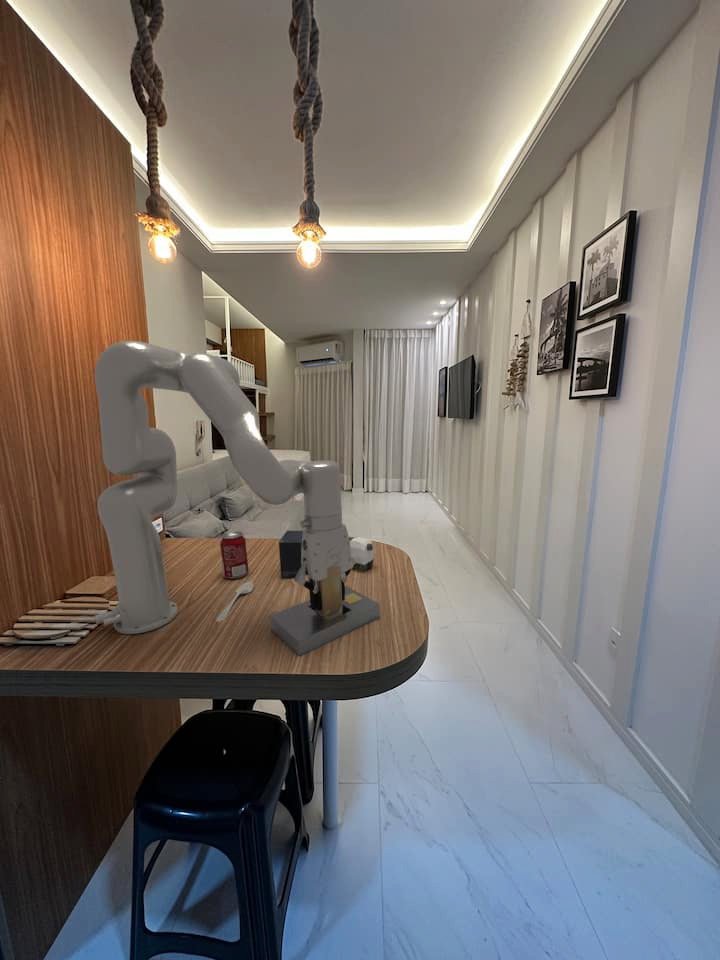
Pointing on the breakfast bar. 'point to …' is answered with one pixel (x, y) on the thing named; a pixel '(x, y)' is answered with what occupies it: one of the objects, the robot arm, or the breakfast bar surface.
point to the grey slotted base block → (322, 622)
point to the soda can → (234, 555)
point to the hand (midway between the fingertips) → (328, 602)
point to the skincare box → (331, 593)
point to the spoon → (245, 586)
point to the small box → (290, 553)
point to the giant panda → (362, 552)
